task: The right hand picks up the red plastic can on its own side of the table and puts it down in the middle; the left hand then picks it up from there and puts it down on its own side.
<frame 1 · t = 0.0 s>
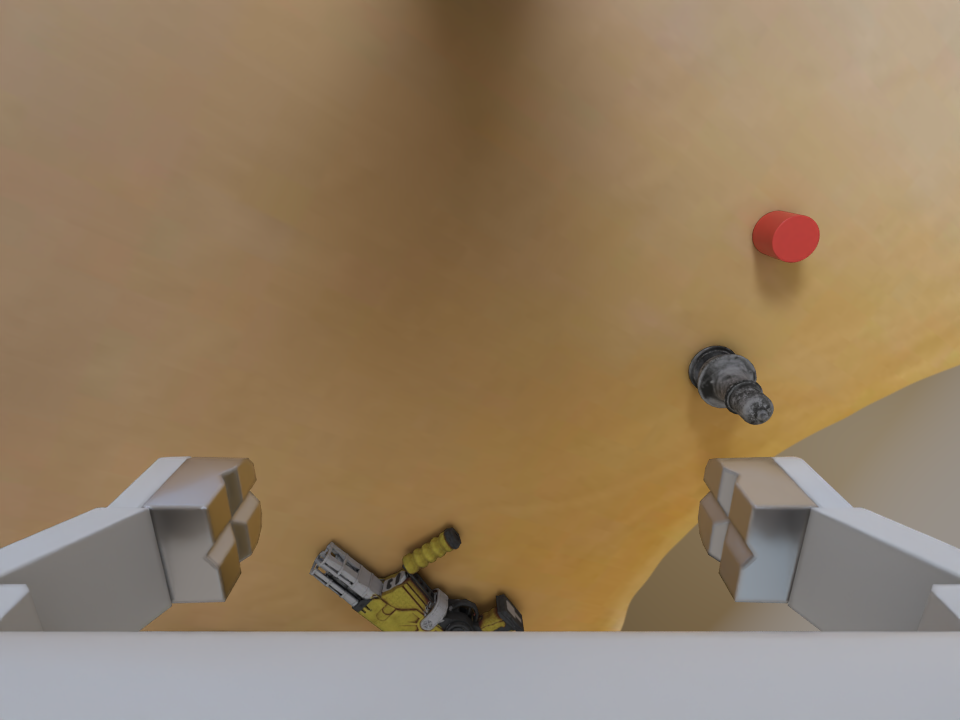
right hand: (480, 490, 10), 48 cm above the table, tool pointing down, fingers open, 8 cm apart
can: (774, 233, 56), on the table
toy gun: (430, 574, 70), on the table
dark grey tapered piece: (712, 368, 61), on the table
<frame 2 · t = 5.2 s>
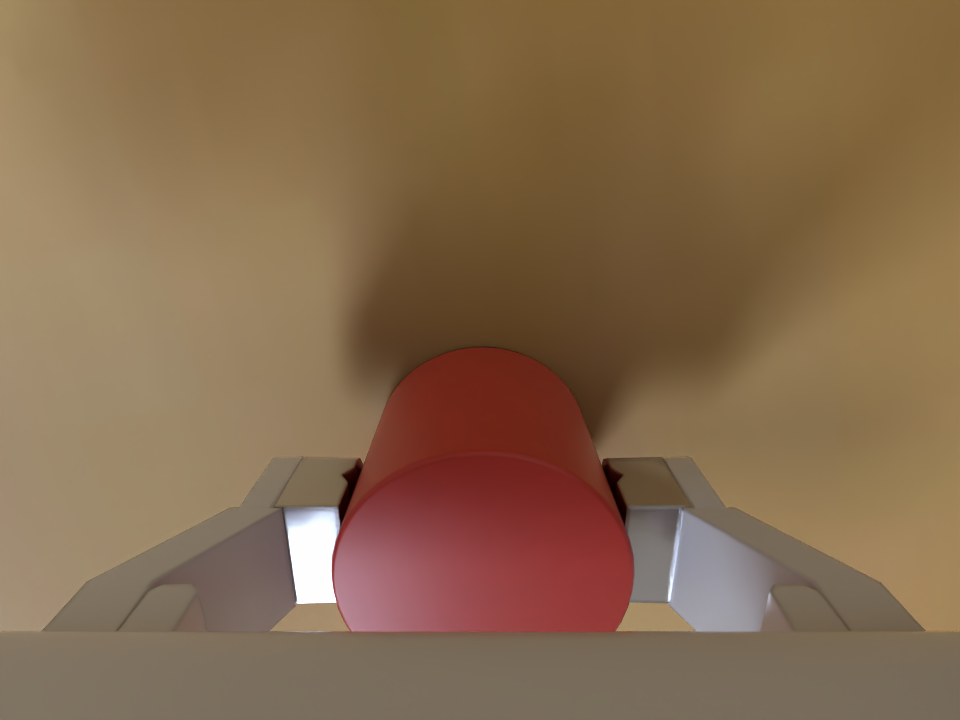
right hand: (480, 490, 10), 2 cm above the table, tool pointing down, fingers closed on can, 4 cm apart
can: (482, 443, 12), on the table, touching right hand
when the right hand's fingers open (3 cm above the table, at t = 14.7 s): can moves 2 cm, point 3 cm above the table.
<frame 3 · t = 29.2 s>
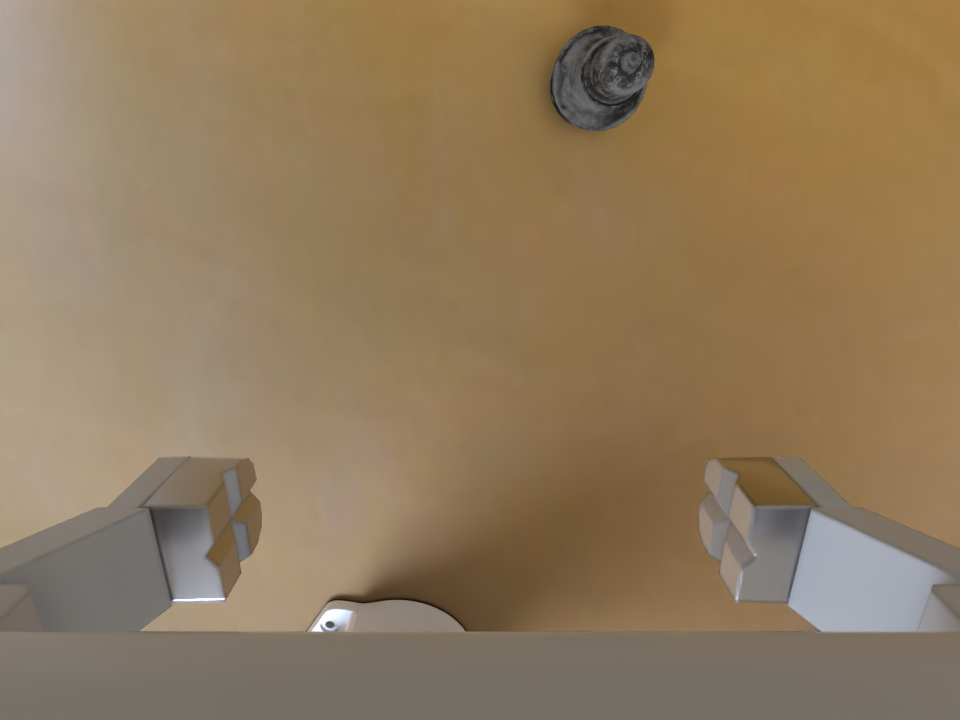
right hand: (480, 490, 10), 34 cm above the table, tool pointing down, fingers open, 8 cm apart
dark grey tapered piece: (588, 86, 39), on the table
when the left hand's fingers open (0 cm above the table, at t = 33.2 s): can stays where it is, on the table.
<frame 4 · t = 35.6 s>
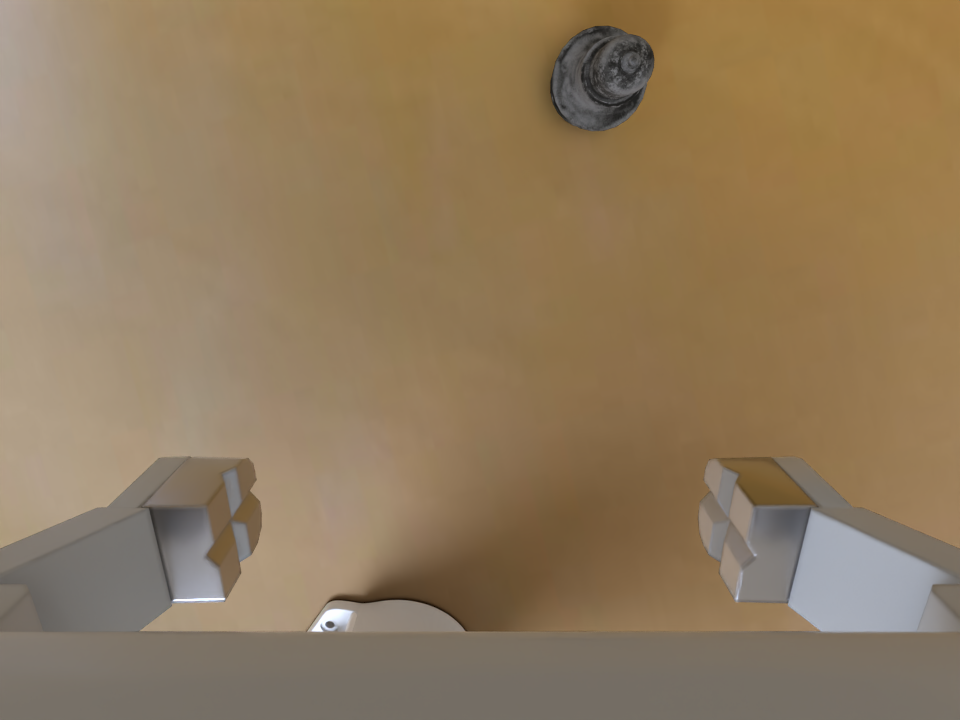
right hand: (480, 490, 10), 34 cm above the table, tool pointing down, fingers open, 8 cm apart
dark grey tapered piece: (588, 86, 39), on the table
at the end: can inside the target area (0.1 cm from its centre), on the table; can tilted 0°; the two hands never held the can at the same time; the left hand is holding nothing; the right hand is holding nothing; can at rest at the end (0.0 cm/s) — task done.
